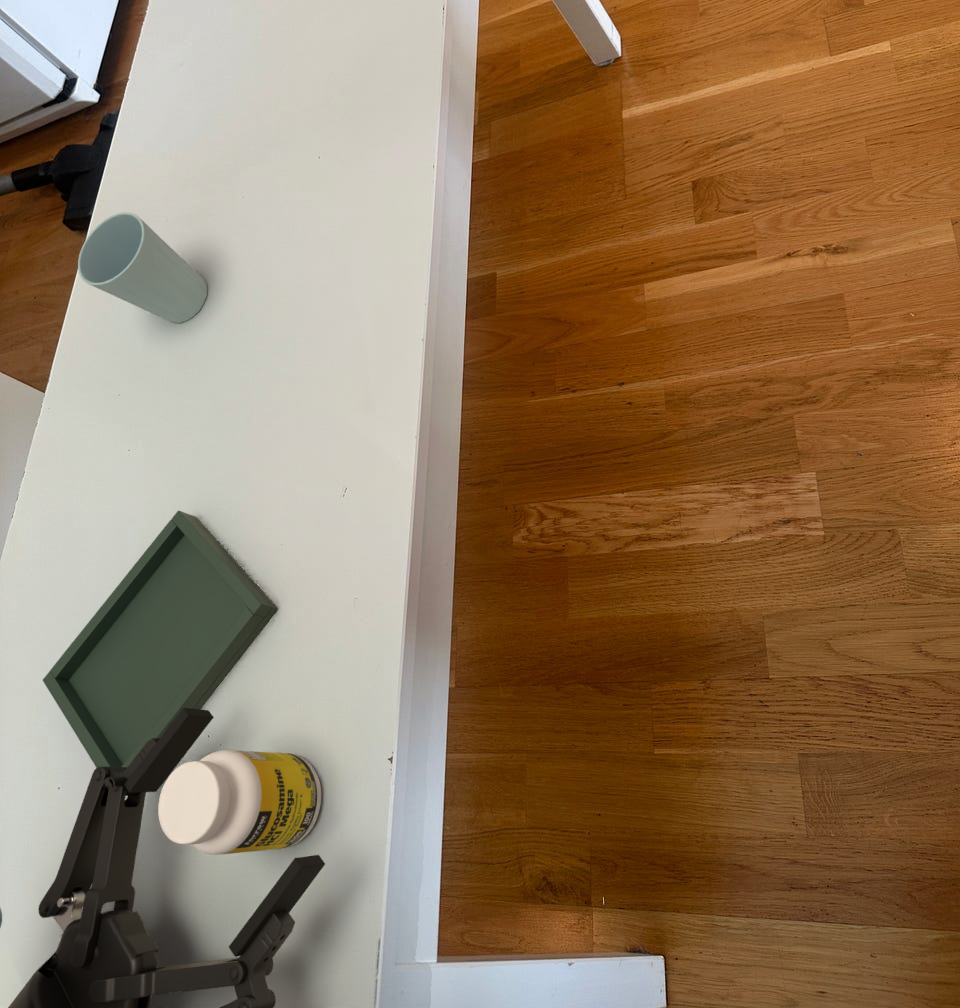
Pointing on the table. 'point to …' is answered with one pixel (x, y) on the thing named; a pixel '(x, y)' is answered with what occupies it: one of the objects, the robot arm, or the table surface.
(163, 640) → the tray
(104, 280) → the cup
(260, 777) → the pill bottle
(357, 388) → the table surface
